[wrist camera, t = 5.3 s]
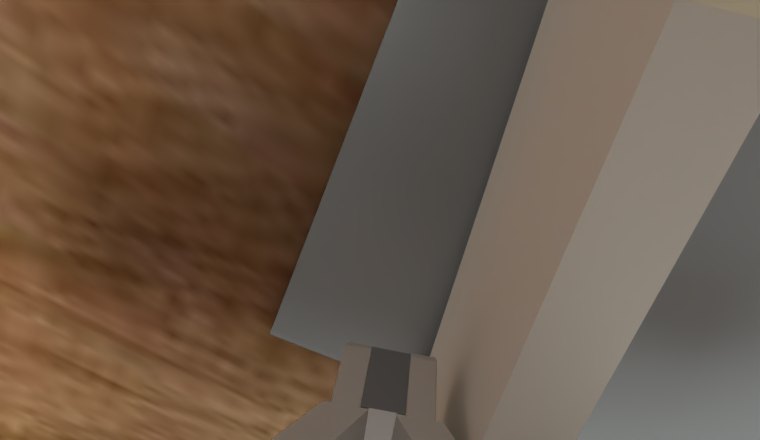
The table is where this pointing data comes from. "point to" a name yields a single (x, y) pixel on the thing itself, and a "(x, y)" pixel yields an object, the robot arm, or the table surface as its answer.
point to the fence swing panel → (590, 207)
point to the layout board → (458, 213)
